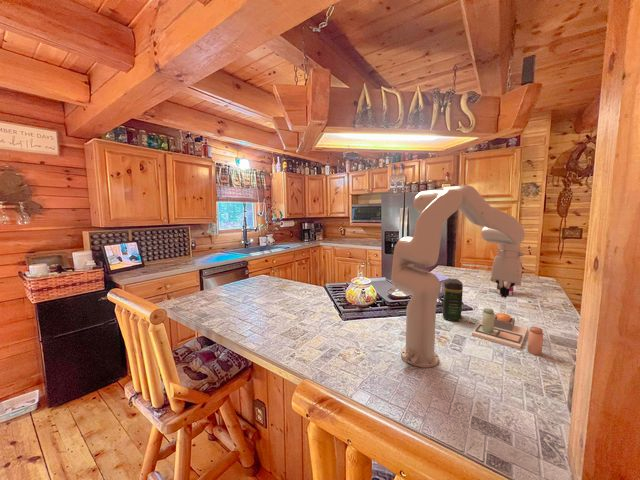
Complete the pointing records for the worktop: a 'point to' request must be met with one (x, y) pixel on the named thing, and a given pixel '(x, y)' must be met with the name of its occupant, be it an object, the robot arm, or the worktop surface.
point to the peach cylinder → (535, 341)
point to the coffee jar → (452, 299)
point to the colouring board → (503, 333)
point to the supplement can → (505, 286)
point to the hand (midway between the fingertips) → (504, 296)
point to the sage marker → (488, 320)
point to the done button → (503, 317)
